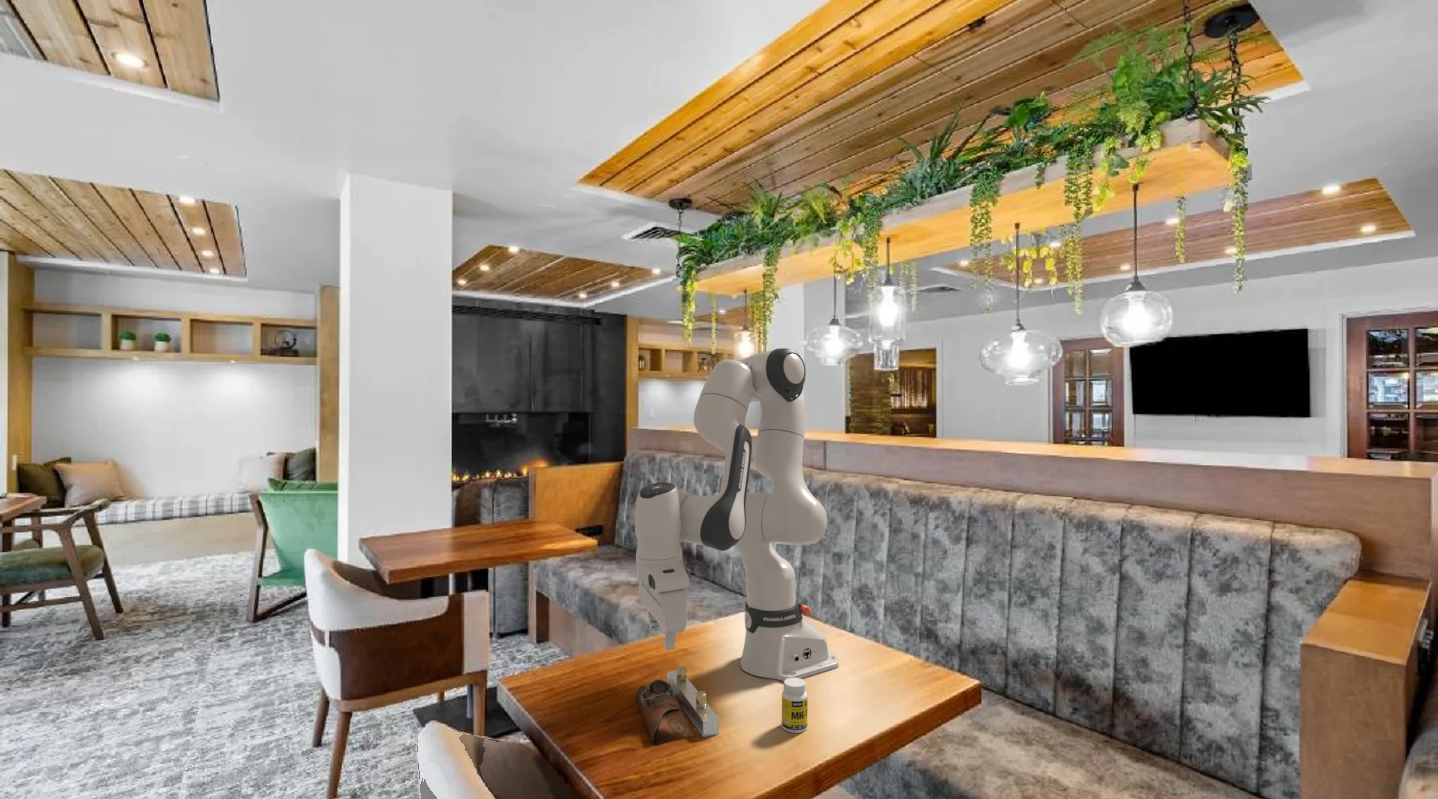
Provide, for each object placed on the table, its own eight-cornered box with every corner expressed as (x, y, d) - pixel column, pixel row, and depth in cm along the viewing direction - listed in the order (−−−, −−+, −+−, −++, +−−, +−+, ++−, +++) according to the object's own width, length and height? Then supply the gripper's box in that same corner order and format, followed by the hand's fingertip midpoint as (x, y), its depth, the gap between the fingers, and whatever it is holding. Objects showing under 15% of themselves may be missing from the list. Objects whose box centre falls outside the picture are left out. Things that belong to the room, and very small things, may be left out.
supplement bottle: (791, 736, 117) (791, 689, 117) (776, 724, 121) (776, 679, 121) (812, 729, 119) (812, 684, 119) (797, 718, 123) (797, 674, 123)
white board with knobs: (680, 683, 138) (680, 658, 138) (718, 734, 118) (718, 704, 117) (667, 686, 137) (667, 660, 137) (703, 737, 116) (703, 707, 116)
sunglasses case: (699, 738, 116) (681, 710, 115) (667, 764, 115) (647, 735, 114) (675, 694, 134) (659, 669, 132) (646, 716, 132) (630, 691, 131)
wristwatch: (673, 684, 122) (664, 672, 126) (642, 699, 119) (635, 686, 124) (677, 700, 122) (669, 688, 127) (647, 715, 120) (639, 702, 125)
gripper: (630, 556, 133) (632, 622, 134) (658, 586, 114) (661, 663, 115) (659, 552, 135) (661, 617, 136) (692, 581, 116) (694, 656, 117)
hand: (661, 638), depth 125 cm, fingers open, 8 cm apart
